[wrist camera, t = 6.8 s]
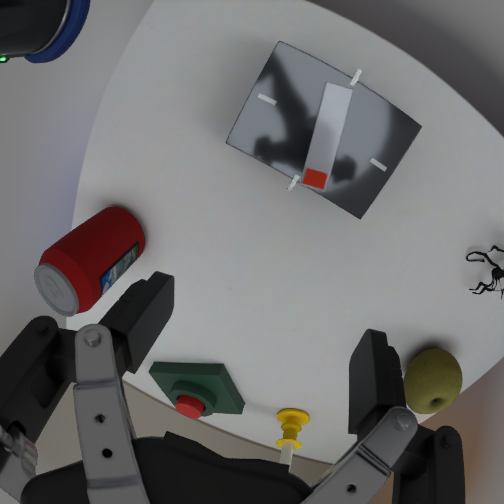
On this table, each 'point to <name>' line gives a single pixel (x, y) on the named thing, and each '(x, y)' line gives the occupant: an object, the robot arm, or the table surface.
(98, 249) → the beverage can
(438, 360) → the apple
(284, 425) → the candle
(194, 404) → the red button
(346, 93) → the tap handle
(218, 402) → the button box
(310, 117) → the plate
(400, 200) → the table surface
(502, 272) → the creature
